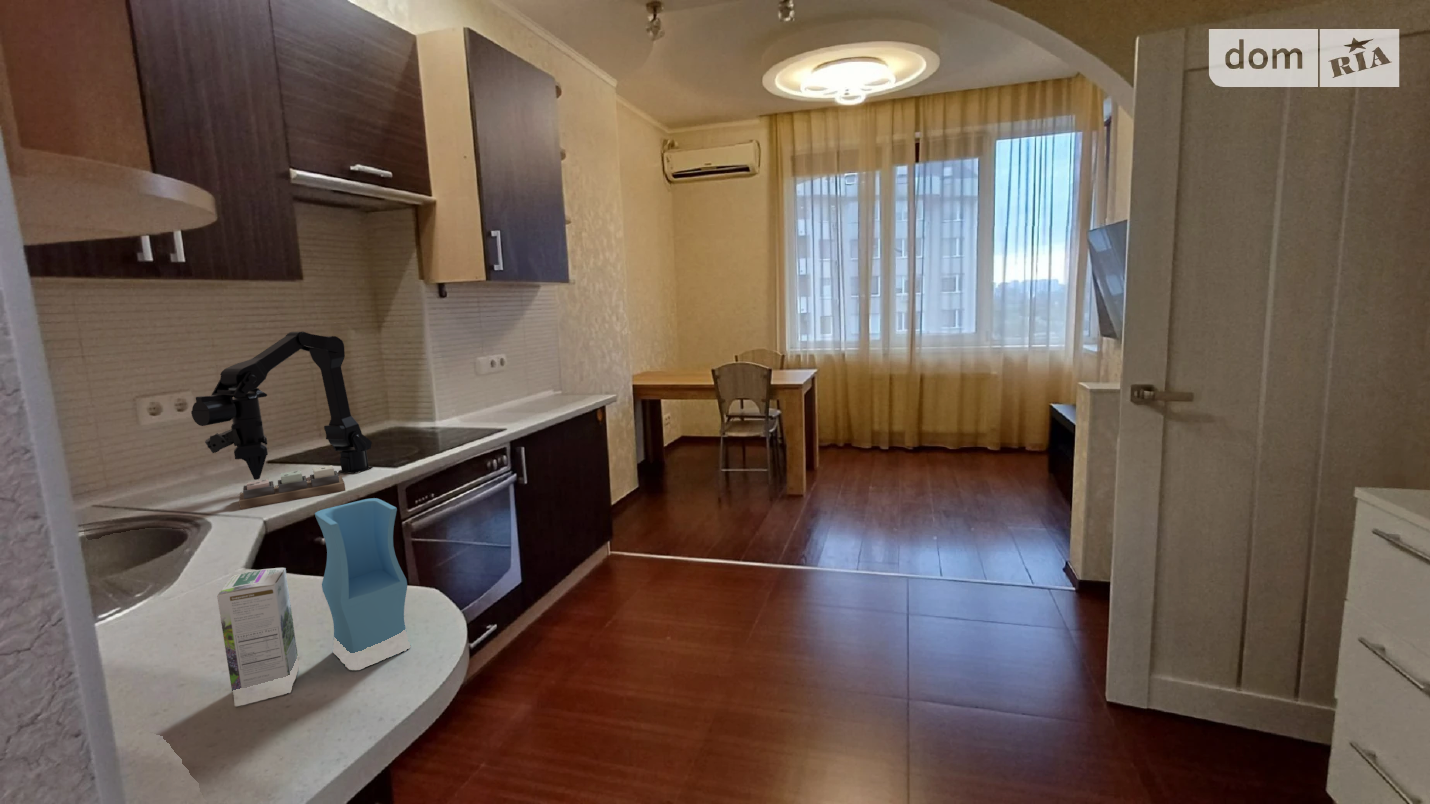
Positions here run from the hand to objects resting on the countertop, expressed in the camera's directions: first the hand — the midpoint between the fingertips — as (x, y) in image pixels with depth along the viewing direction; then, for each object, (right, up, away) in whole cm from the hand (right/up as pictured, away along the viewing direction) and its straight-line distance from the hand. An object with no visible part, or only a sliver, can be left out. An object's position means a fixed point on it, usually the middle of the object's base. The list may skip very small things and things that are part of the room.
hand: (256, 479), depth 153 cm
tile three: (0, -3, +1) cm, 3 cm away
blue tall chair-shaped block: (+68, -15, -69) cm, 98 cm away
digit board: (+6, -5, +5) cm, 9 cm away
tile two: (+6, -1, +4) cm, 7 cm away
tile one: (+11, 0, +8) cm, 14 cm away
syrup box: (+59, -16, -77) cm, 98 cm away
